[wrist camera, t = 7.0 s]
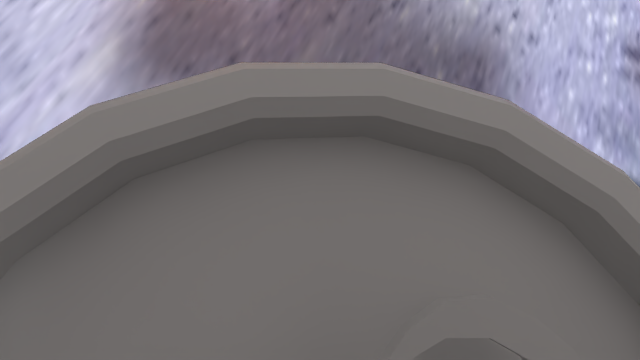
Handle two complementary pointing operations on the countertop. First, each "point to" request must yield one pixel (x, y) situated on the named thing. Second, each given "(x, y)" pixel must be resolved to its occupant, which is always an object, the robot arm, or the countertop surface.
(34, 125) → the countertop surface
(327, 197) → the can
